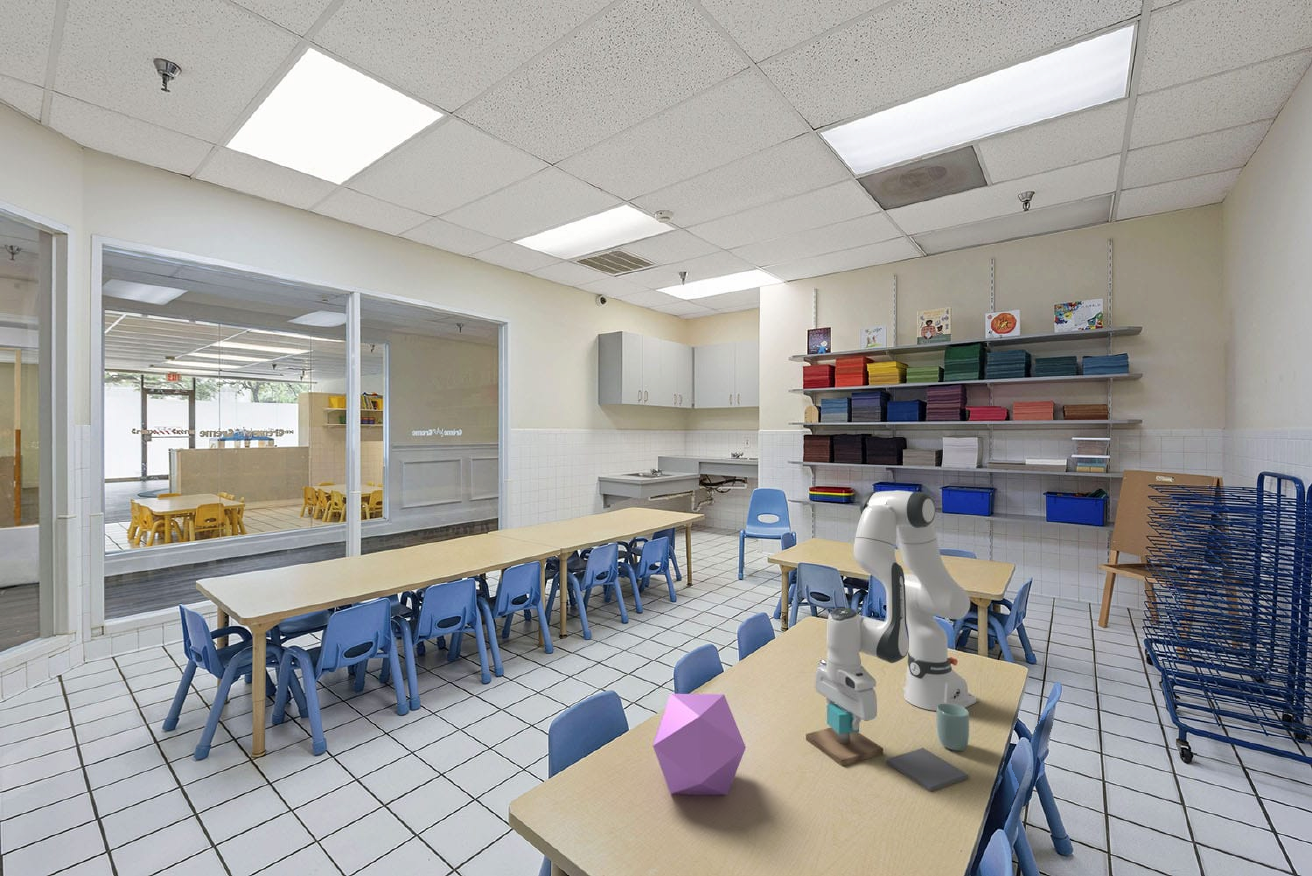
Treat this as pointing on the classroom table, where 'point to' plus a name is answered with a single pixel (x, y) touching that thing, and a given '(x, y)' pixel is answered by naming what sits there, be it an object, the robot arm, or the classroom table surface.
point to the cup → (953, 726)
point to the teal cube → (839, 719)
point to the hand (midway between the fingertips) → (844, 722)
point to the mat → (927, 769)
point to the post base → (844, 745)
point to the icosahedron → (698, 744)
